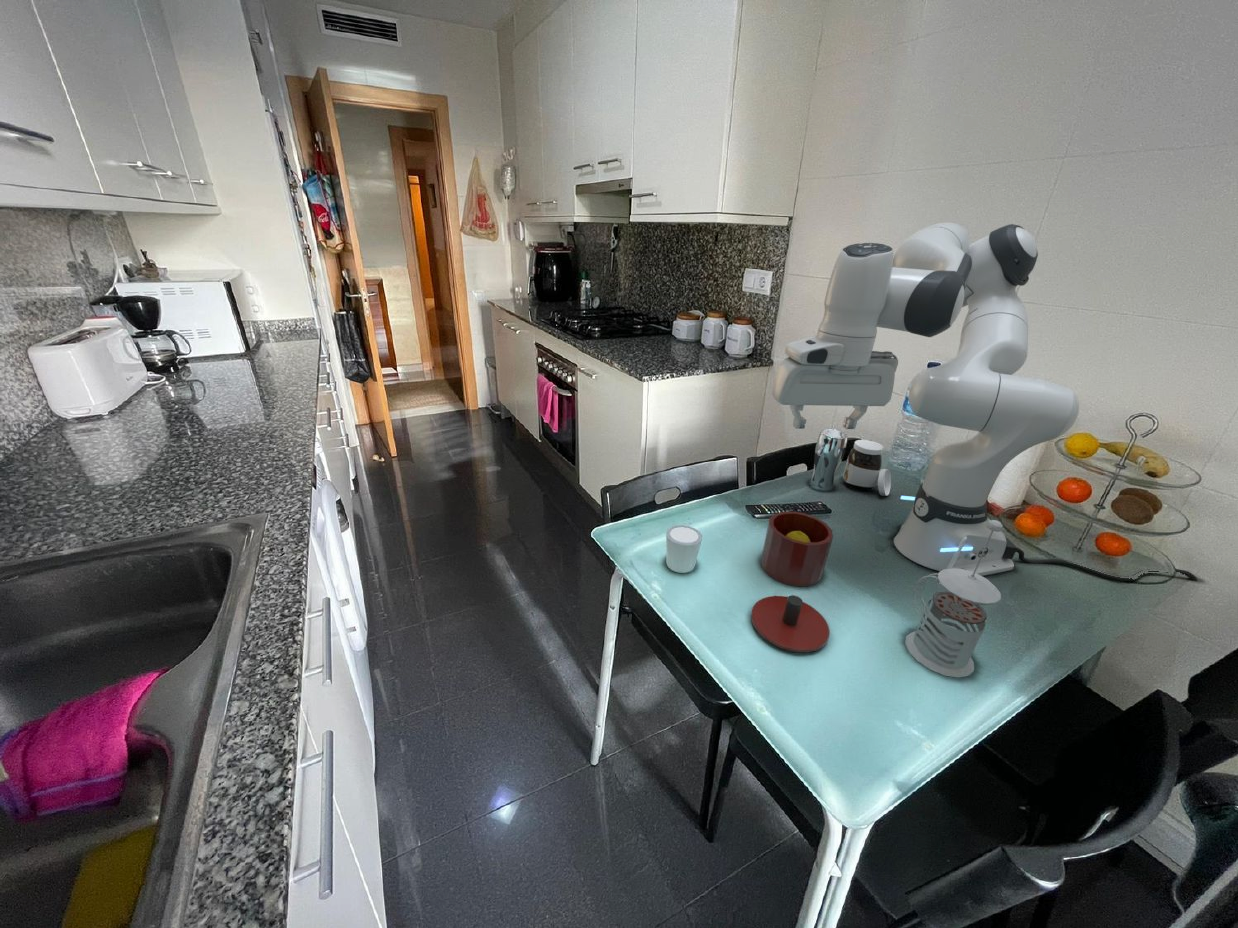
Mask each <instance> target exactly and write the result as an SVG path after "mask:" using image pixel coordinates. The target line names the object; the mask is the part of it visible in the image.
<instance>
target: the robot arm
mask: <svg viewBox="0 0 1238 928" xmlns="http://www.w3.org/2000/svg"><path fill="white" fill-rule="evenodd" d="M968 232H969V231H968V230H967V229H966V228H965V227H964V226H962V225H961V224H958V223H956V222H948V221H946V222H939V223H934V224H931V225H928V226H926V227H923V228H921V229H919V230H918V231H916V232H914V233H913V234H911V235H909V236H908V237H906V238H905V240H903V241H902V243H901V244H900V245H899V246H898V248H897V249H896V251H895V250H894V249H893V247H891V246H889V245H886V244H885V243H878V242H877V243H876V242H863V243H853V244H849V245H847V246H845V247H843V248H842V249H841V250H840V251H839V253H838V256H837V258H836V261H835V264H834V265H833V269H832V272H831V274H830V278H829V281H828V284H827V290H826V292H825V293H826V294H825V298H824V305H823V306H824V313H823V316H822V317H823V318H822V320H821V322H820V324H819V326H818V330H817V334H813V335H811V336H808V337H805V338H802V339H797V340H794V341H791V342H789V343H787V344H786V346H785V349H784V353H785V355H786V356H787V357H785V358H784V359H783V360H782V361H781V362H780V364H779V365H778V367H777V368H778V369H777V371H776V374H775V378H774V380H773V381H774V382H773V386H772V393H771V395H772V397H773V398H774V400H775V401H776V402H778V404H780V405H783V406H789V408H790V410H791V413H792V416H793V421H792V427H793V428H794V429H797V430H798V429H799V430H800V429H805V428H806V424H807V419H806V418H805V417H803V416H802V415H801V412H802V411H804V407H805V406H831V407H834V406H837V407H852V408H853V411H852V412H851V413H850V414H849V416H844V419H843V422H842V427H843V428H845V430H855V429H856V428H857V423H858V421H859V420H860V419H861V418H862V417H863V416H864V415H865V414H866V413H867V411H868V407H885V406H886V405H888V403H889V402H890V401H892V397H893V392H894V385H895V378H896V377H895V376H896V372H897V368H898V366H899V359H898V357H897V355H896V354H894V353H893V352H892V351H888V350H887V351H885V350H884V351H879V350H873V349H874V346H875V342H876V338H877V334H878V328H882V329H888V330H895V331H901V332H906V333H910V334H914V335H918V336H920V337H921V336H922V337H926V338H933V337H935V336H938V335H941V334H942V333H943V332H945V331H947V330H948V329H951V327H952V325H953V324H954V323H955V322H956V320H957V319H958V317H959V315H960V313H961V310H962V308H964V307H966V306H967V309H968V311H967V313H966V315H965V318H964V320H963V323H962V328H961V332H960V339H959V345H958V349H957V353H956V355H955V356H954V357H953V358H951V359H950V360H949V361H947V362H945V363H943V364H940V365H936V366H932V367H929V368H927V369H925V370H923V371H922V372H921V373H919V374H918V375H917V376H916V377H915V379H914V380H913V382H912V383H911V385H910V388H909V391H908V404H909V407H910V410H911V412H912V413H913V415H914V416H915V417H918V418H921V419H923V420H926V421H929V422H931V423H934V424H936V425H939V426H946V427H951V428H956V429H963V430H968V431H973V432H974V431H975V432H978V433H977V434H976V435H974V436H973V437H971V438H969V439H967V440H965V441H960V442H955V443H951V444H946V445H944V446H943V447H941V448H939V449H937V450H936V451H935V452H934V454H933V455H932V457H931V460H930V463H929V465H928V467H927V471H926V474H925V475H924V479H923V482H922V483H921V484H920V485H919V486H918V489H917V491H916V495H915V496H909V495H900V500H905V501H913V506H912V508H911V510H910V512H909V514H908V516H907V518H906V519H905V521H904V523H903V524H902V525H901V526H900V528H899V531H898V532H897V534H896V536H894V538H893V544H894V546H895V548H896V549H897V551H899V553H900V554H902V555H903V556H904V557H906V558H907V559H909V560H910V561H913V562H914V563H916V564H918V565H921V566H923V567H925V568H927V569H931V570H935V571H937V572H940V571H942V570H943V569H950V568H957V569H964V570H967V571H971V572H974V570H975V568H976V565H977V563H978V561H979V559H980V556H981V554H982V552H983V549H984V547H985V545H986V542H987V540H988V538H989V536H990V533H991V531H992V530H990V529H988V528H987V527H986V524H987V522H988V521H990V520H991V519H990V518H989V516H988V515H989V514H988V513H989V512H991V514H992V515H994V516H999V515H1000V514H1002V513H1003V511H1004V508H1003V506H1001V505H999V504H997V502H994V501H993V502H990V501H988V498H989V495H990V493H991V491H992V489H993V487H994V485H995V483H996V481H997V480H998V477H999V476H1000V474H1001V473H1002V471H1003V469H1004V468H1005V467H1006V466H1007V465H1008V464H1009V463H1010V462H1011V461H1012V460H1013V459H1014V458H1016V457H1017V456H1019V455H1020V454H1021V453H1023V452H1025V451H1027V450H1028V449H1030V448H1033V447H1035V446H1037V445H1040V444H1043V443H1046V442H1049V441H1053V440H1056V439H1057V438H1060V437H1061V436H1062V435H1064V434H1065V433H1067V432H1068V431H1069V430H1070V429H1071V428H1072V427H1073V425H1074V424H1075V423H1076V421H1077V418H1078V417H1079V411H1080V404H1079V403H1080V402H1079V399H1078V396H1077V395H1076V393H1075V392H1074V390H1073V389H1072V388H1070V387H1068V386H1065V385H1062V384H1059V383H1056V382H1052V381H1049V380H1047V379H1043V378H1038V377H1037V378H1036V377H1030V376H1022V375H1015V373H1017V372H1018V371H1019V370H1020V369H1021V368H1022V367H1023V366H1024V365H1025V363H1026V361H1027V358H1028V355H1029V354H1028V351H1029V349H1028V346H1029V323H1028V315H1027V311H1026V308H1025V305H1024V302H1023V301H1022V299H1021V298H1020V297H1019V296H1018V294H1017V291H1016V289H1017V287H1019V286H1020V287H1022V286H1025V285H1026V284H1027V283H1028V282H1029V280H1030V276H1029V275H1031V273H1032V272H1033V270H1034V268H1035V266H1036V262H1037V260H1038V256H1039V252H1038V248H1037V243H1036V240H1035V238H1034V237H1033V235H1032V234H1031V233H1030V232H1029V231H1028V230H1026V229H1025V228H1023V227H1022V226H1021V225H1019V224H1014V223H1010V224H1005V225H1003V226H1001V227H999V228H996V229H994V230H992V231H990V233H989V234H987V235H985V236H984V237H982V238H979V239H977V240H976V241H974V242H972V243H971V237H970V235H969V233H968ZM894 251H895V253H894ZM1016 553H1018V560H1019V561H1021V562H1022V563H1025V564H1032V565H1033V564H1034V565H1035V564H1037V565H1041V564H1042V565H1048V564H1049V565H1050V564H1055V565H1056V564H1058V565H1064V566H1069V567H1072V568H1076V569H1079V570H1082V571H1085V572H1088V573H1091V574H1094V575H1096V576H1100V577H1103V578H1106V579H1108V580H1109V579H1110V580H1114V581H1121V582H1132V581H1137V580H1136V579H1135V580H1133V579H1132V578H1130V579H1129V578H1120V577H1115V576H1111V575H1107V574H1104V573H1105V572H1104V573H1101V572H1102V571H1101V572H1098V571H1099V570H1098V571H1095V570H1096V569H1095V570H1092V569H1093V568H1092V569H1089V568H1086V567H1083V566H1080V565H1077V564H1078V563H1077V564H1073V563H1069V562H1065V560H1066V559H1058V558H1050V559H1049V558H1048V559H1037V560H1034V559H1028V558H1025V552H1024V550H1022V549H1021V548H1019V547H1018V546H1017V545H1015V544H1014V543H1013V542H1012V540H1010V539H1009V538H1008V537H1007V536H1006V535H1005V534H1004V533H1003V532H1002V531H1001V532H996V531H993V533H992V536H991V538H990V540H989V542H988V545H987V547H986V549H985V552H984V554H983V556H982V558H981V561H980V563H979V565H978V568H977V570H976V572H975V573H977V574H978V575H980V576H982V577H984V576H988V575H994V574H1001V573H1004V572H1010V571H1013V570H1014V567H1015V564H1014V561H1013V558H1014V556H1015V554H1016ZM1174 569H1175V570H1176V572H1180V573H1182V574H1181V575H1183V576H1186V577H1188V579H1190V580H1191V581H1194V582H1198V578H1197V576H1195V574H1193V573H1192V572H1190V571H1189V570H1184V569H1181V568H1174ZM1143 570H1144V569H1142V570H1140V571H1138V572H1137V573H1139V572H1141V571H1143ZM1148 570H1150V569H1149V568H1148ZM1148 572H1159V571H1148ZM1137 573H1136V572H1135V574H1133V575H1132V576H1134V575H1136V574H1137ZM1184 574H1185V575H1184ZM1143 576H1146V575H1145V573H1143V575H1142V574H1141V575H1140V576H1138V577H1140V578H1141V577H1143ZM1127 577H1129V576H1127Z"/></svg>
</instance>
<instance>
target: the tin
mask: <svg viewBox="0 0 1238 928" xmlns="http://www.w3.org/2000/svg"><path fill="white" fill-rule="evenodd" d="M768 519H769V520H768V524H767V529H766V533H765V537H764V543H763V548H762V553H761V558H760V564H761V567H762V570H763V571H764V572H765V573H766V574H767V575H768V576H770V577H771V578H772V579H774V580H776V581H778V582H779V583H782V584H785V585H788V586H793V587H810V586H811V587H812V586H813V585H816V584H817V583H819V582H820V581H821V579H822V577H823V575H824V571H825V568H826V564H827V560H828V556H829V554H830V549H831V545H832V542H833V538H834V533H833V529H832V528H831V527H830V526H829V525H828V523H826V522H824V521H823V520H822V519H820V518H818V517H816V516H813V515H810V514H807V513H803V512H798V511H780V512H778V513H774V514H772V515H771V517H769V518H768ZM793 531H801V532H803V533H804V534H806V535H807V536H808V538H809V539H810V542H809V543H807V542H802V541H797V540H794V539H791V538H789V537H786V535H787V534H788V533H790V532H793Z"/></svg>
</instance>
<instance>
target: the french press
mask: <svg viewBox="0 0 1238 928" xmlns="http://www.w3.org/2000/svg"><path fill="white" fill-rule="evenodd" d="M986 527H987V528H988V529H990V530H992V531H991V533H990V536H989V538H988V540H987V542H986V545H985V547H984V549H983V552H982V554H981V556H980V559H979V561H978V563H977V565H976V568H975V570H974V572H971V571H967V570H964V569H957V568H950V569H943V570H942V571H938V573H937V572H936V573H930V574H929V575H925V576H922V577H920V578H919V579H918V580H917V581H916V582H915V585H914V588H913V602H914V604H915V606H916V608H917V609H918V611H919V612H920V614H921V617H920V621H919V623H918V625H917V628H916V631H911V632H910V633H909V634H907V635H906V636H905V643H904V644H905V647H906V648H907V650H908V651H907V652H909V654H910V655H911V656H913V658H914V659H915V660H916V662H918V663H920V664H921V665H923V666H924V667H926V668H927V669H929V670H930V671H933V672H935V673H937V674H940V675H942V676H947V677H951V678H959V679H960V678H964V677H969V676H970V675H971V674H972V673H973V672H974V671H975V662H974V660H973V659H972V655H973V653H974V651H975V649H976V646H977V645H978V643H979V641H980V638H981V636H982V634H983V632H984V630H985V627H986V620H987V619H988V618H987V612H986V611H985V609H984V608H983V606H991V605H995V604H997V603H998V602H999V601H1001V600H1002V597H1001V596H1002V594H1001V592H1000V591H999V589H998V588H997V587H996V586H995V585H994V584H993V583H992V581H990V580H989V578H986V577H984V576H980V575H978V574H977V573H975V572H976V570H977V568H978V565H979V563H980V561H981V558H982V556H983V554H984V552H985V549H986V547H987V545H988V542H989V540H990V538H991V536H992V533H993V531H996V532H1002V530H1003V527H1004V525H1003V524H1002V522H1001V521H999V520H996V519H990V521H988V522H987V524H986ZM929 578H933V579H935V586H940V585H941V586H942V588H944V589H945V590H941V591H936V593H934V594H932V599H930V600H928V602H927V604H926V602H925V600H924V597H923V587H924V584H925V582H926V581H927V579H929ZM921 581H922V583H921V585H920V599H921V602H922V604H923V606H924V608H925V609H924V612H923V611H922V610H921V608H920V606H919V604H918V602H917V600H916V590H917V587H918V584H919V583H920V582H921ZM931 602H932V604H931ZM930 605H931V607H930ZM929 607H930V608H929ZM942 619H943V620H942ZM944 619H945V620H944ZM946 619H947V620H946ZM948 620H951V621H948ZM952 621H955V622H958V623H959V624H961V625H962V626H963V627H964V628H965V630H964V628H962V627H961V626H960V625H958V624H957V623H955V622H952ZM923 623H924V624H923ZM968 624H969V626H970V627H971V629H970V628H969V626H968ZM975 625H976V627H977V629H976V627H975ZM971 630H972V631H971ZM977 630H978V631H977Z"/></svg>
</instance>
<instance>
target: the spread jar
mask: <svg viewBox="0 0 1238 928" xmlns="http://www.w3.org/2000/svg"><path fill="white" fill-rule="evenodd" d="M883 452H884V446H883V445H882V444H881V443H878V442H876V441H873V440H869V439H857V440H855V441H854V443H853V447H852V448H851V449H850V451H849V452H848V456H847V459H846V462H845V466H844V471H843V476H842V481H843V483H844V485H846V486H847V487H848V488H851V489H853V490H857V491H863V492H864V491H871V490H873V489H875V487H876V486H877V489H878V494H879V495H880V496H884V497H885V496H889V495H890V492H891V487H892V476H891V472H890V470H889V469H888V468H887V469H886V468H882V464H883V456H882V453H883Z"/></svg>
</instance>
